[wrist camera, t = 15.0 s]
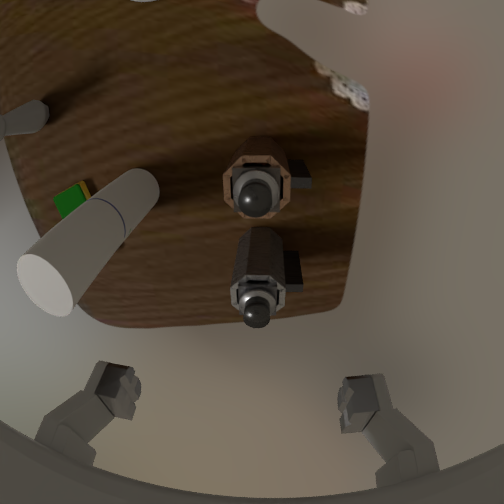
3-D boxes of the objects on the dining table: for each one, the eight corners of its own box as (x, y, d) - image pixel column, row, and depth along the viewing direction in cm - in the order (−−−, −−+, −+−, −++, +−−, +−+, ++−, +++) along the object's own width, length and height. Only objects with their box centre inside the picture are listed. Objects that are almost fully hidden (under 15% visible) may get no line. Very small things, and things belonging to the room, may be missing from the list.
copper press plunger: (241, 150, 35) (229, 178, 24) (276, 150, 35) (280, 178, 24) (242, 183, 37) (231, 224, 27) (276, 183, 37) (279, 225, 26)
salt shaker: (37, 94, 33) (-17, 106, 22) (57, 104, 35) (2, 118, 24) (28, 123, 36) (-23, 142, 25) (47, 134, 37) (-5, 155, 26)
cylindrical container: (161, 171, 41) (65, 264, 20) (157, 214, 45) (79, 325, 23) (120, 165, 41) (9, 246, 19) (118, 206, 44) (27, 304, 23)
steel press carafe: (238, 227, 45) (228, 278, 34) (297, 227, 45) (307, 279, 33) (240, 263, 49) (231, 320, 37) (295, 264, 48) (302, 321, 37)
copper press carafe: (235, 136, 38) (220, 157, 27) (301, 137, 37) (317, 158, 26) (237, 182, 41) (224, 221, 30) (300, 182, 41) (312, 222, 29)
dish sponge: (92, 255, 50) (86, 262, 48) (59, 193, 44) (52, 198, 42) (118, 246, 49) (112, 253, 47) (84, 179, 42) (77, 183, 40)
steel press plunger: (244, 247, 42) (236, 304, 32) (275, 247, 42) (276, 304, 31) (245, 272, 44) (238, 331, 34) (274, 272, 44) (275, 332, 34)
